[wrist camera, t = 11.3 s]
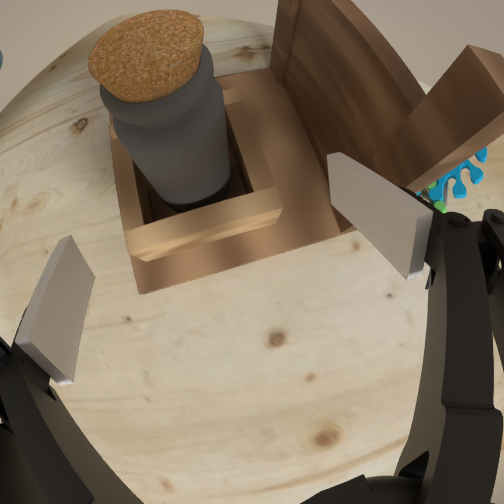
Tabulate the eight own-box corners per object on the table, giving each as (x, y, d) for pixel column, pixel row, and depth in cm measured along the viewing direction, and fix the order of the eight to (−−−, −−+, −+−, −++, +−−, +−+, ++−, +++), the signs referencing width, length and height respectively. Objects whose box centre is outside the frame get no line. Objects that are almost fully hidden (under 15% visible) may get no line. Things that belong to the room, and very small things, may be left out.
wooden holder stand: (143, 294, 23) (-66, 265, 4) (112, 117, 25) (29, -27, 6) (362, 228, 24) (536, 109, 5) (291, 71, 27) (325, -86, 8)
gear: (390, 104, 25) (482, 103, 18) (407, 132, 29) (486, 135, 22) (380, 204, 25) (486, 216, 17) (397, 222, 29) (485, 234, 22)
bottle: (165, 224, 23) (66, 116, 8) (156, 159, 23) (84, 27, 9) (237, 207, 23) (233, 67, 8) (223, 143, 24) (208, -8, 9)
